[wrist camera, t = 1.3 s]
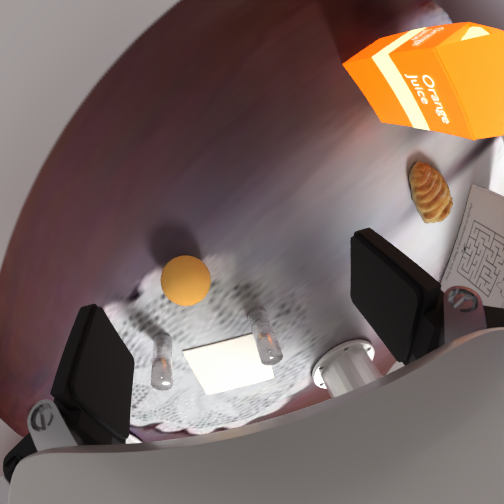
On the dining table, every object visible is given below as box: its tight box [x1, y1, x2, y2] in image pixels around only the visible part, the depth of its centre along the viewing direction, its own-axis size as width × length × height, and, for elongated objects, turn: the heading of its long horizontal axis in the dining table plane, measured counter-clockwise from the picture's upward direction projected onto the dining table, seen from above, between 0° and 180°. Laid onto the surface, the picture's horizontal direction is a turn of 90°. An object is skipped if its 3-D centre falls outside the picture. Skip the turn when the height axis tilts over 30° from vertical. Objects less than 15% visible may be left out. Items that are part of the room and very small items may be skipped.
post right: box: [248, 308, 283, 365], centre depth 35 cm, size 3×3×8 cm
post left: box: [151, 333, 172, 390], centre depth 33 cm, size 3×3×8 cm
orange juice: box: [342, 22, 504, 140], centre depth 18 cm, size 8×9×20 cm
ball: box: [161, 255, 211, 306], centre depth 30 cm, size 6×6×6 cm
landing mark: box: [182, 333, 274, 395], centre depth 42 cm, size 12×12×1 cm
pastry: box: [409, 162, 453, 223], centre depth 33 cm, size 9×7×4 cm
